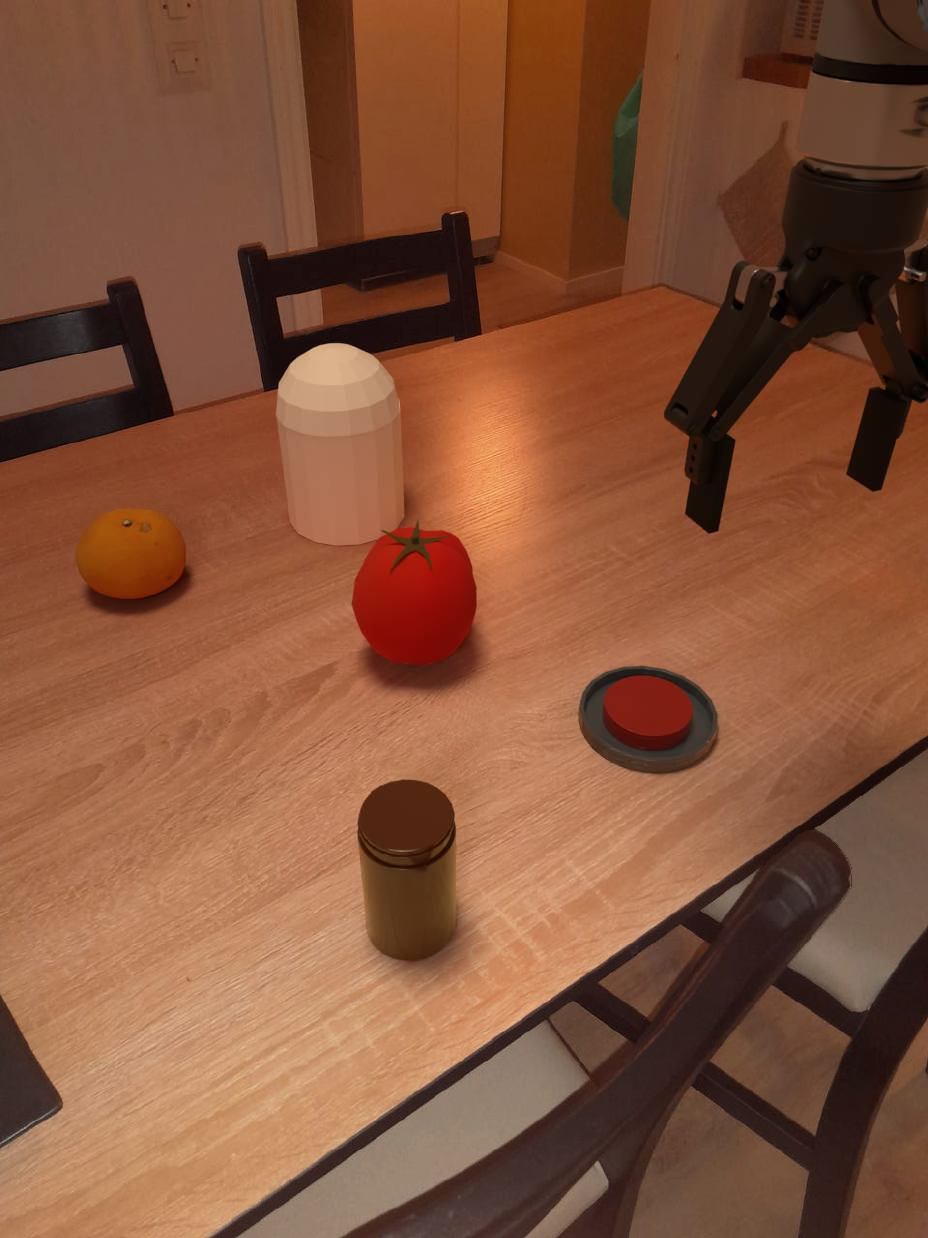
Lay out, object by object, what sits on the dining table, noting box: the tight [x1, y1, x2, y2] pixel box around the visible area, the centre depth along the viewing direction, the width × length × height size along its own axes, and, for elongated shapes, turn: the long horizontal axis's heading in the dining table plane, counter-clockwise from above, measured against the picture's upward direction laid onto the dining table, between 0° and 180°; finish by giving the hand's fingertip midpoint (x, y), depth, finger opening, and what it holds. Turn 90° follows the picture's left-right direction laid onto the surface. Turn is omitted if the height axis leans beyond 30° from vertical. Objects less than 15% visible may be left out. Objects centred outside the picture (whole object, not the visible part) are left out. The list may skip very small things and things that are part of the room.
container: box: [275, 342, 406, 547], centre depth 106 cm, size 14×13×20 cm
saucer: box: [577, 665, 719, 774], centre depth 84 cm, size 12×12×2 cm
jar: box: [356, 779, 457, 961], centre depth 65 cm, size 6×6×12 cm
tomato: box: [351, 519, 478, 667], centre depth 88 cm, size 12×12×13 cm
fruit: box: [75, 507, 187, 600], centre depth 98 cm, size 10×10×8 cm
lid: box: [602, 676, 693, 751], centre depth 84 cm, size 8×8×2 cm
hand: (785, 502), depth 66 cm, fingers open, 13 cm apart
